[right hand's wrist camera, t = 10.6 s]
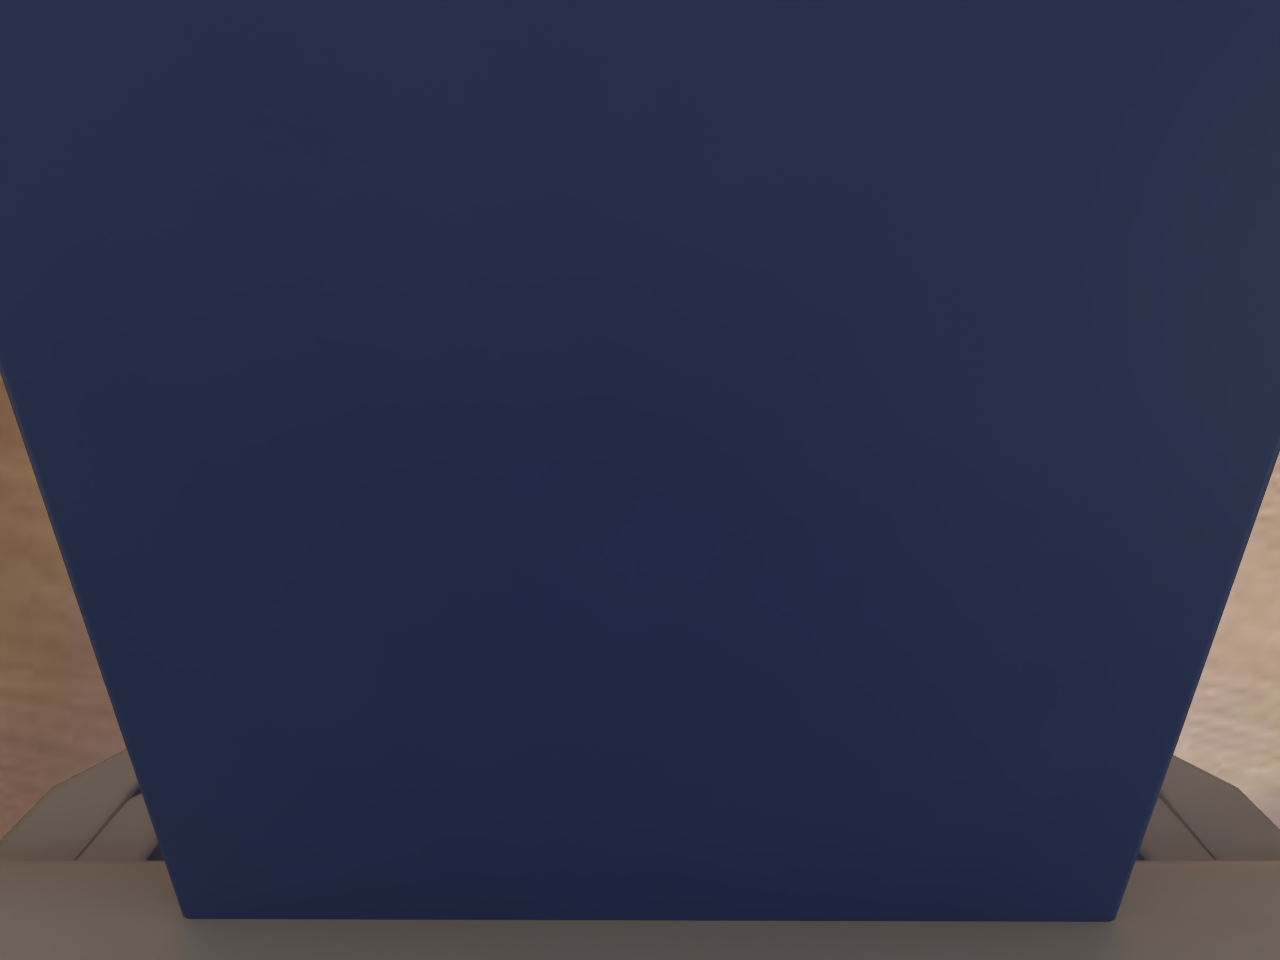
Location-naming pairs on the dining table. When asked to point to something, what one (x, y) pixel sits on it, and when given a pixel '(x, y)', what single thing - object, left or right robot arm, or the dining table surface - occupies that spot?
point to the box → (646, 436)
